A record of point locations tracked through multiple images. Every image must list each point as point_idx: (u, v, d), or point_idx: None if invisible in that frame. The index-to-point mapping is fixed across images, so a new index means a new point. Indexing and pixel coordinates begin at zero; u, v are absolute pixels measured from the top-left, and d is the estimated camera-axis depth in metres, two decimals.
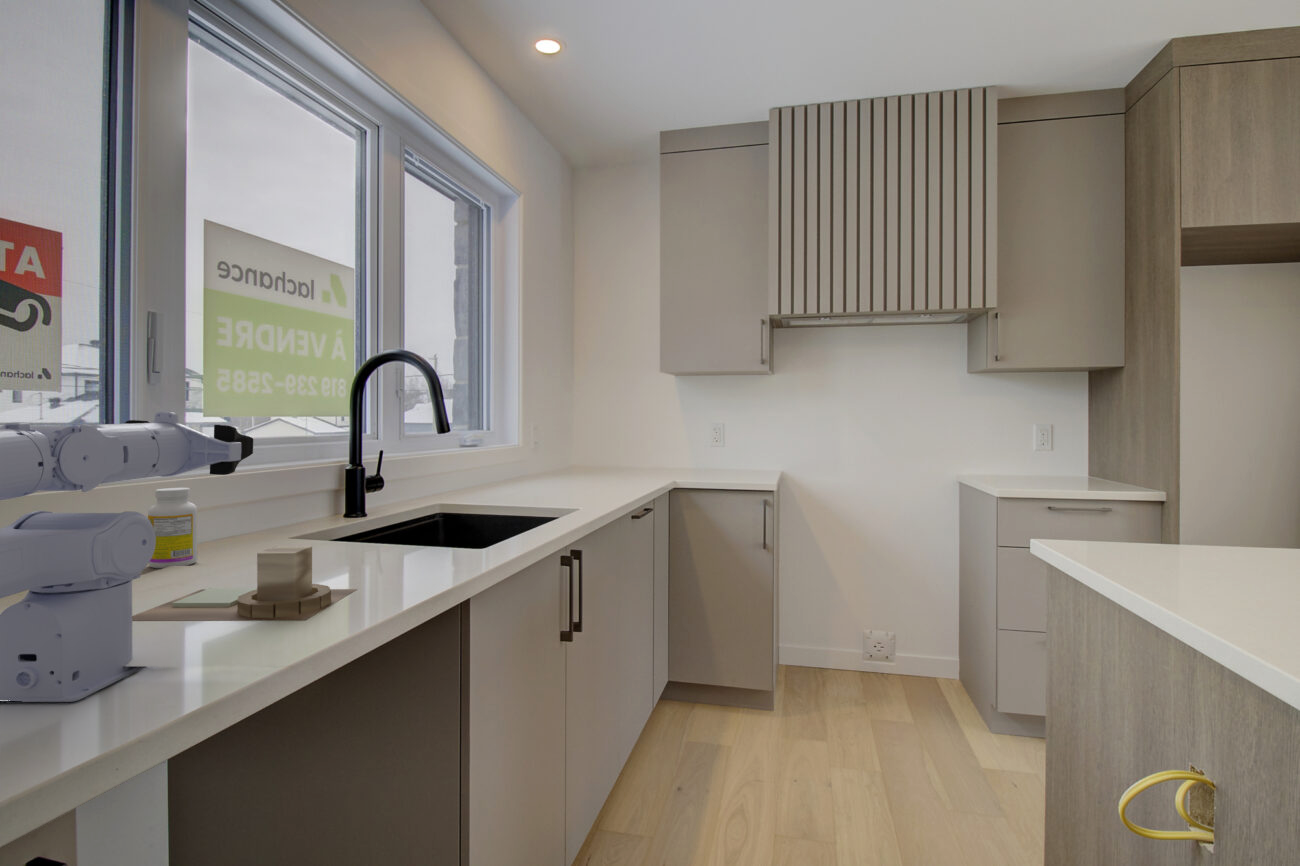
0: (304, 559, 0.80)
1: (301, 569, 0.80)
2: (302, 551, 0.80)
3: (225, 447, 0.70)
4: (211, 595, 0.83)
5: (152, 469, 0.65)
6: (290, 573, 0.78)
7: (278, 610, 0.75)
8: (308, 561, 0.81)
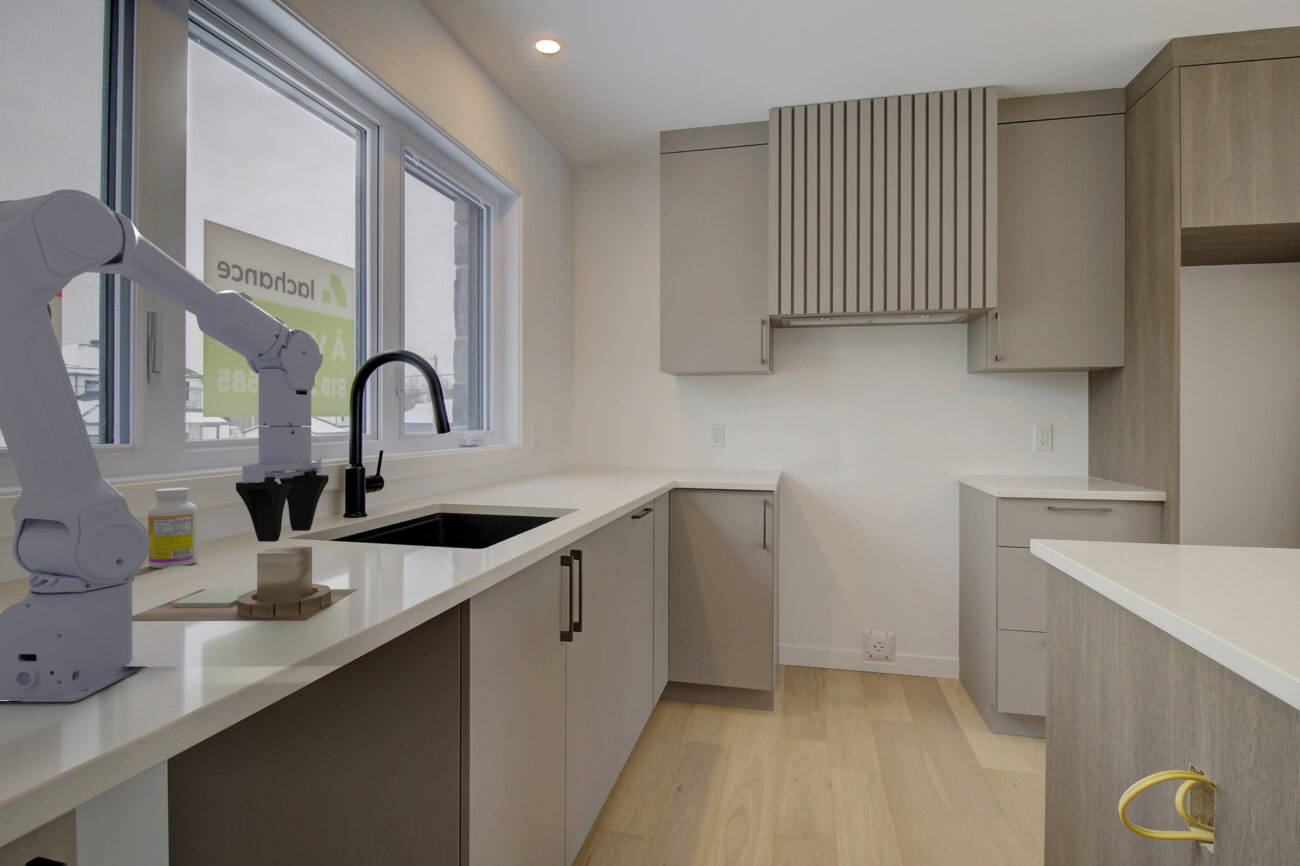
0: (304, 559, 0.80)
1: (301, 569, 0.80)
2: (302, 551, 0.80)
3: None
4: (211, 595, 0.83)
5: (260, 425, 0.77)
6: (290, 573, 0.78)
7: (278, 610, 0.75)
8: (308, 561, 0.81)
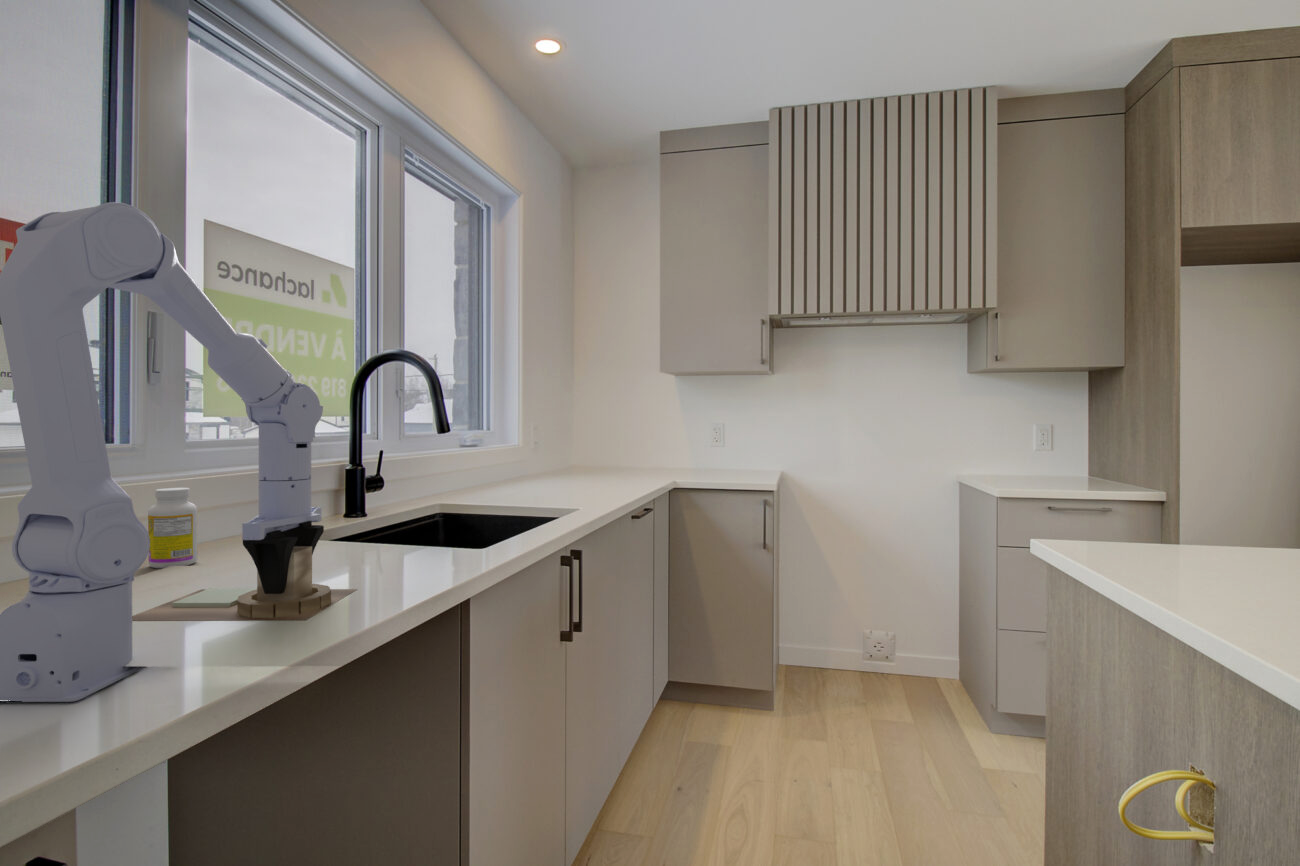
0: (304, 559, 0.80)
1: (301, 569, 0.80)
2: (302, 551, 0.80)
3: None
4: (211, 595, 0.83)
5: (260, 480, 0.78)
6: (290, 573, 0.78)
7: (278, 610, 0.75)
8: (308, 561, 0.81)
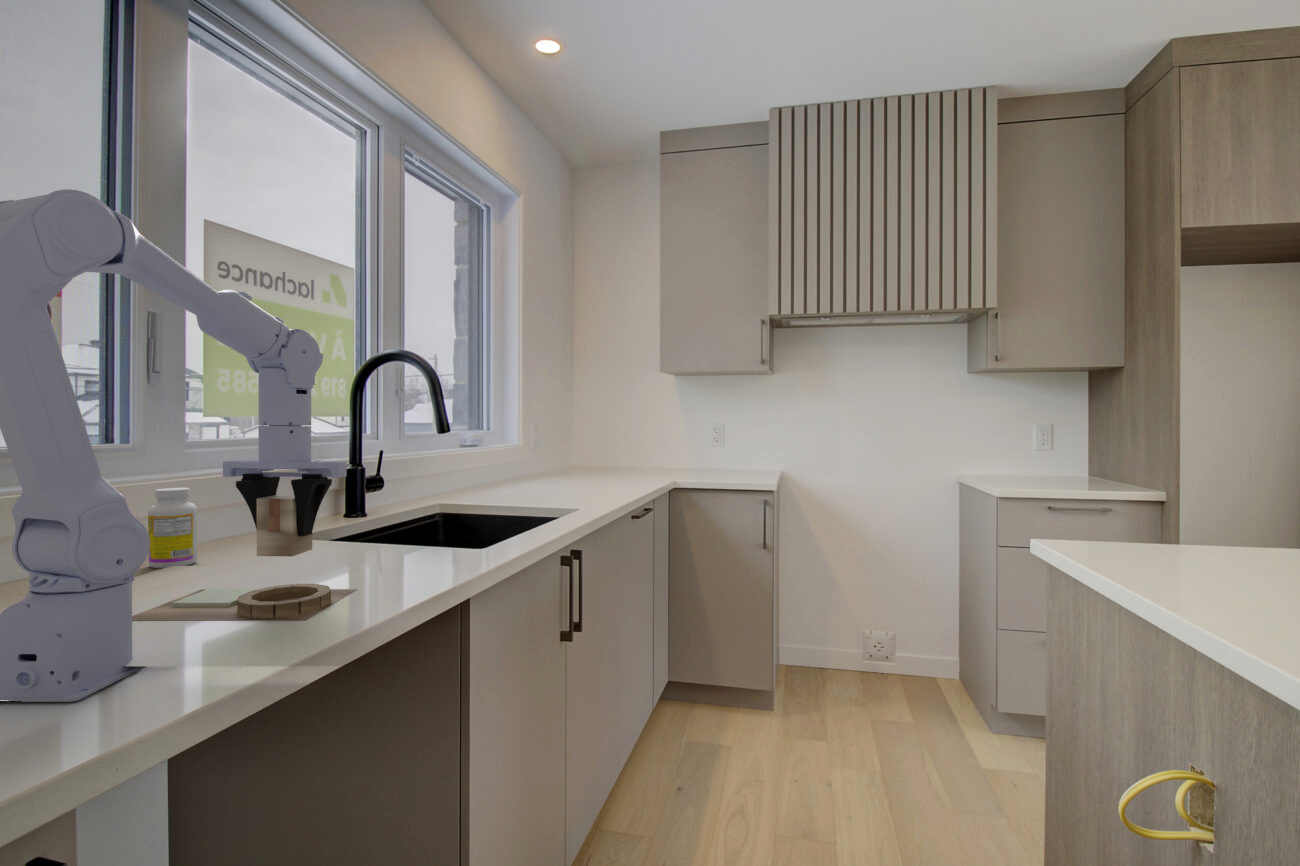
0: None
1: None
2: None
3: None
4: (211, 595, 0.83)
5: (295, 425, 0.78)
6: None
7: (278, 610, 0.75)
8: None
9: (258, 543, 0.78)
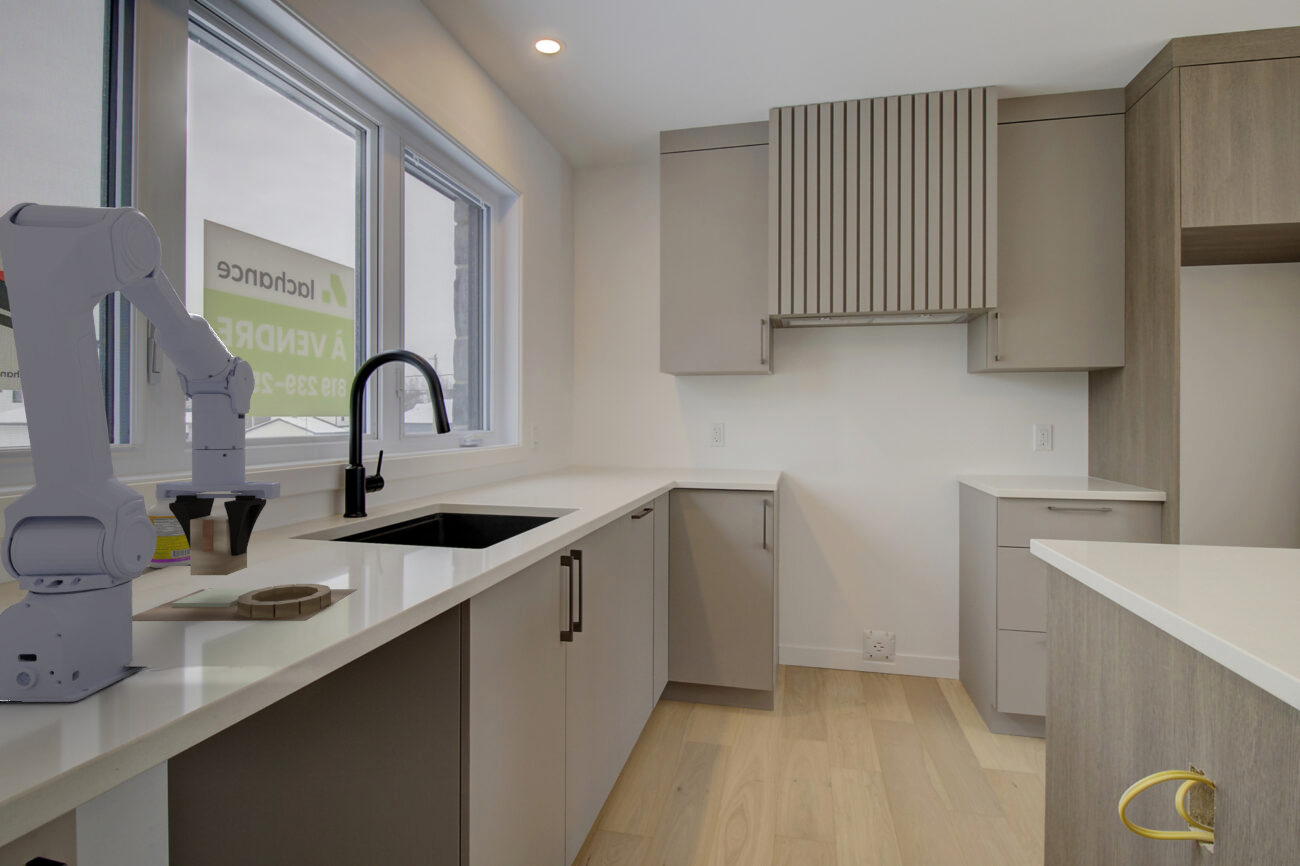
0: None
1: None
2: None
3: None
4: (211, 595, 0.83)
5: (228, 448, 0.81)
6: None
7: (278, 610, 0.75)
8: None
9: (192, 563, 0.80)
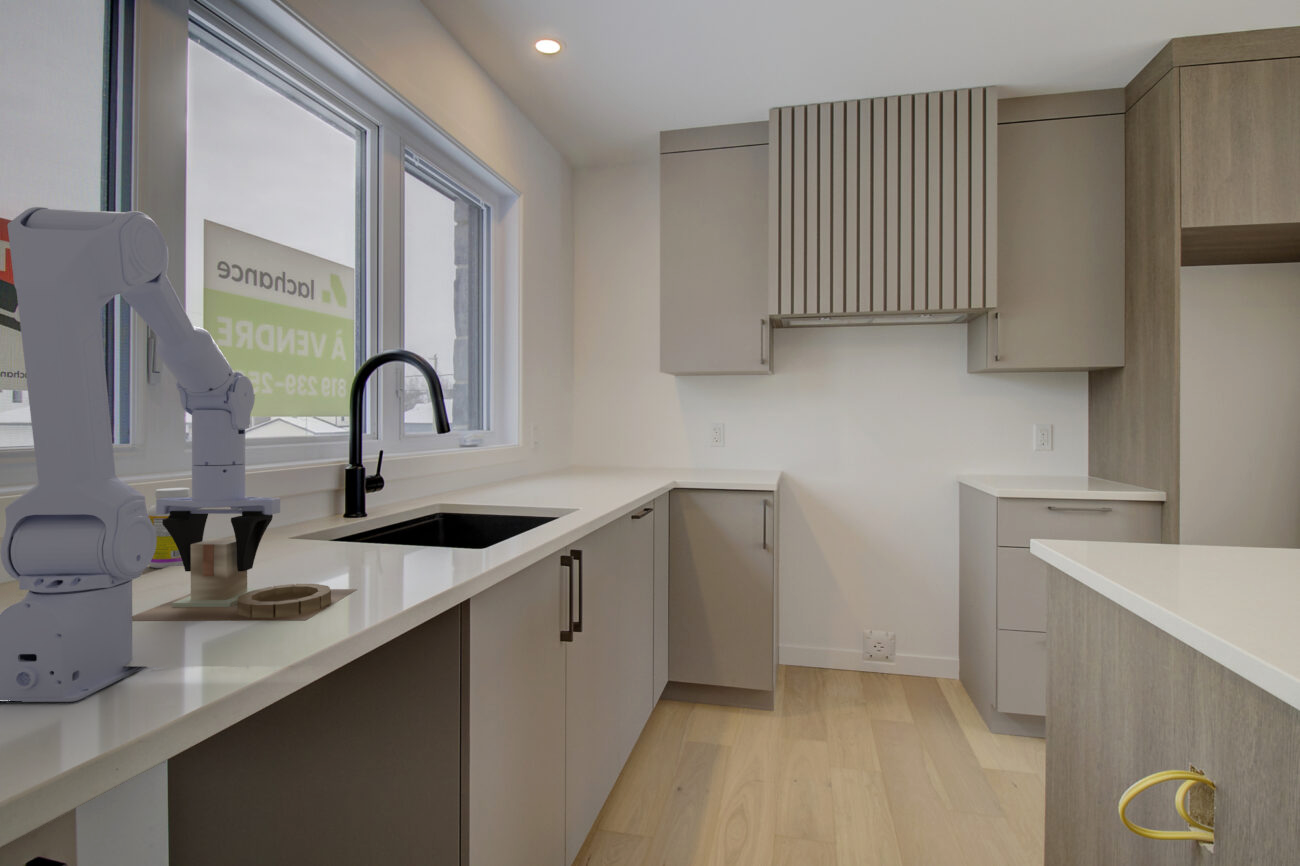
0: None
1: None
2: None
3: None
4: None
5: (228, 464, 0.81)
6: None
7: (278, 610, 0.75)
8: None
9: (192, 587, 0.80)
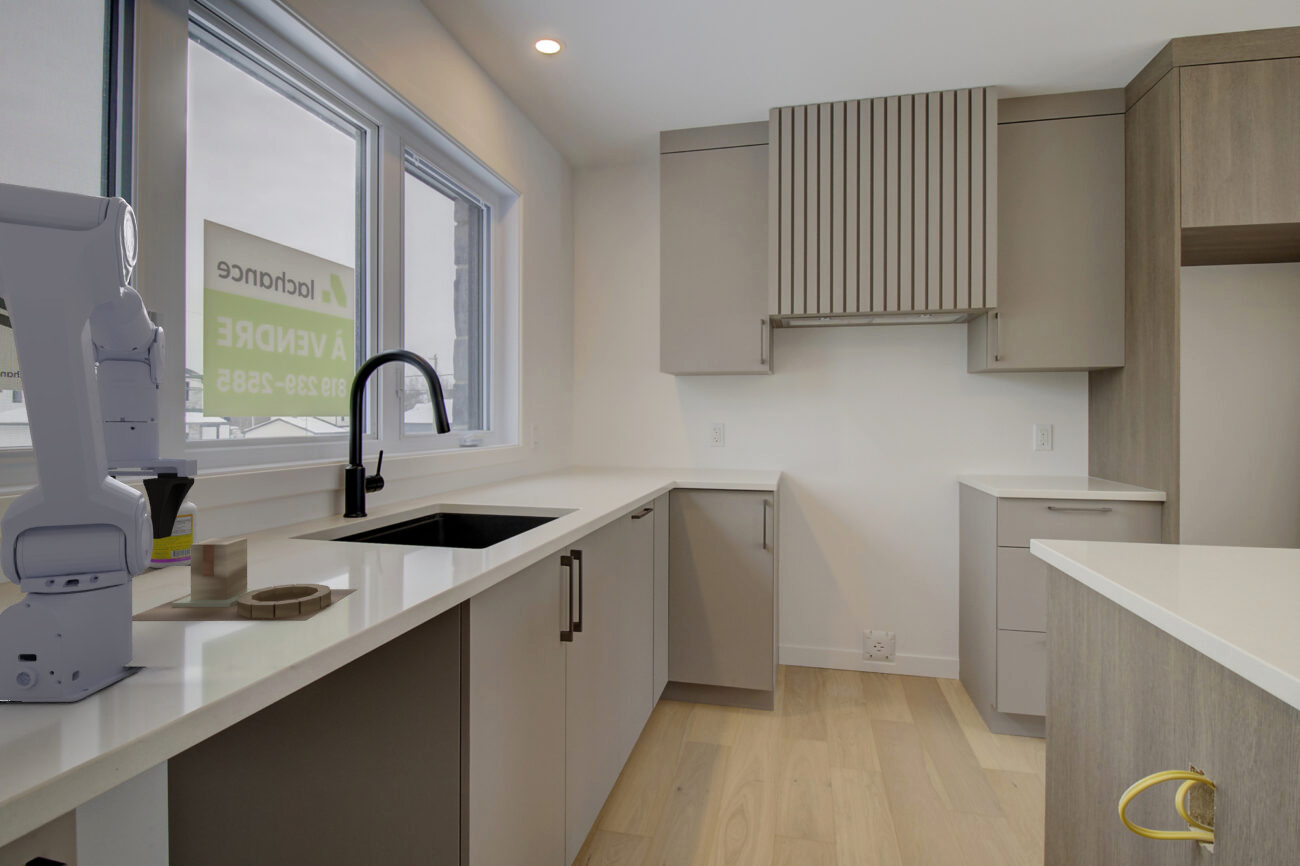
0: None
1: None
2: None
3: None
4: None
5: (137, 421, 0.74)
6: (245, 557, 0.85)
7: (278, 610, 0.75)
8: None
9: (192, 587, 0.80)
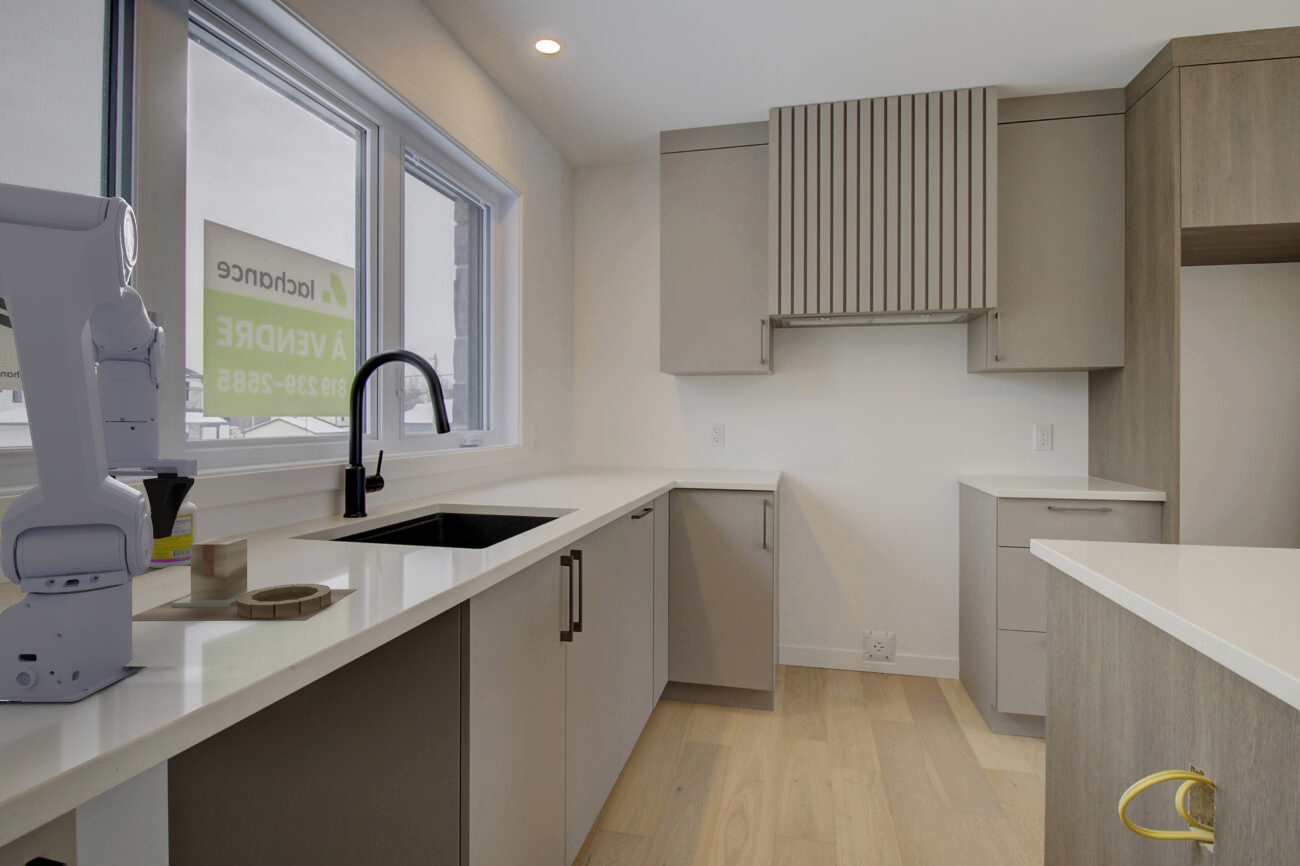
0: None
1: None
2: None
3: None
4: None
5: (137, 421, 0.74)
6: (245, 557, 0.85)
7: (278, 610, 0.75)
8: None
9: (192, 587, 0.80)
